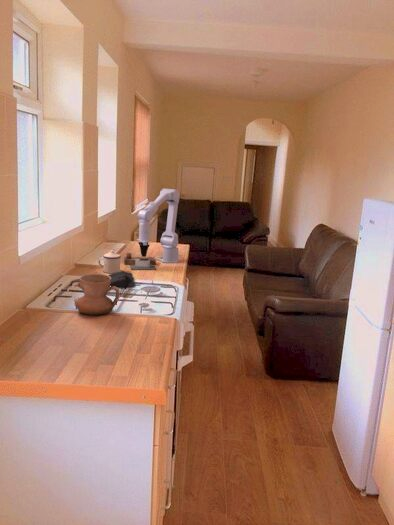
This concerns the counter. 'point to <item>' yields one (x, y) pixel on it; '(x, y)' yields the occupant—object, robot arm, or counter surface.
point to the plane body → (131, 260)
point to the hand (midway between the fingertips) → (143, 255)
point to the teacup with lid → (111, 262)
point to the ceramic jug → (95, 294)
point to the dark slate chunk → (122, 279)
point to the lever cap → (142, 263)
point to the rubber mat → (152, 267)
